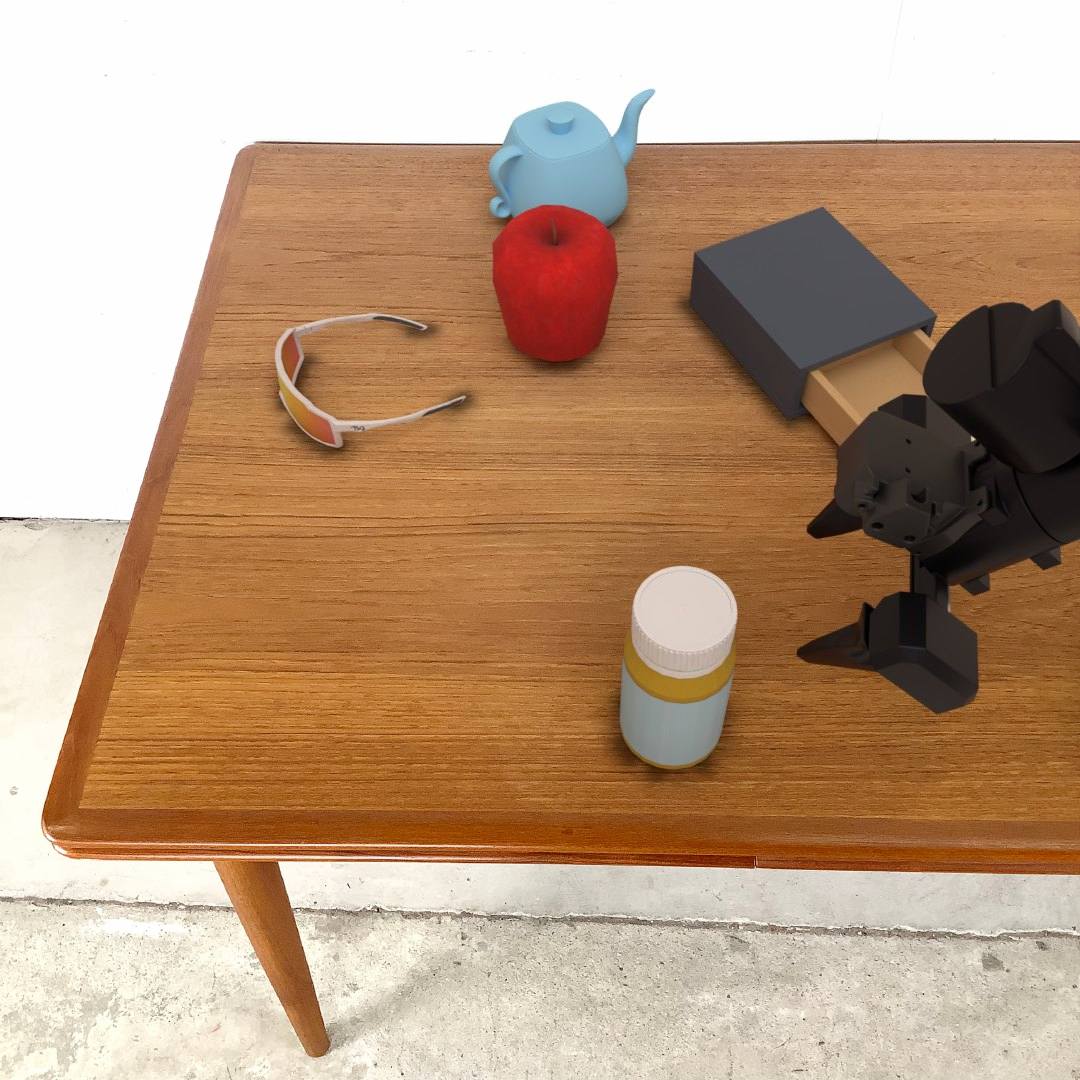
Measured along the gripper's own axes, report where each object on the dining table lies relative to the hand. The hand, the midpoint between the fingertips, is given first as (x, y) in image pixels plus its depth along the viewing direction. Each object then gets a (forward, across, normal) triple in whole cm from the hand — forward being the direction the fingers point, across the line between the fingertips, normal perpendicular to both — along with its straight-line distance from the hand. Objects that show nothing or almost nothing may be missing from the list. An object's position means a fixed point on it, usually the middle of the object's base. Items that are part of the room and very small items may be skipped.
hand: (806, 592), depth 68 cm
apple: (+25, -33, -8) cm, 42 cm away
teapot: (+26, -53, -10) cm, 60 cm away
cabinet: (+11, -38, +8) cm, 40 cm away
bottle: (+15, +4, +4) cm, 16 cm away
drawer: (+4, -25, +15) cm, 30 cm away
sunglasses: (+35, -24, -19) cm, 47 cm away
